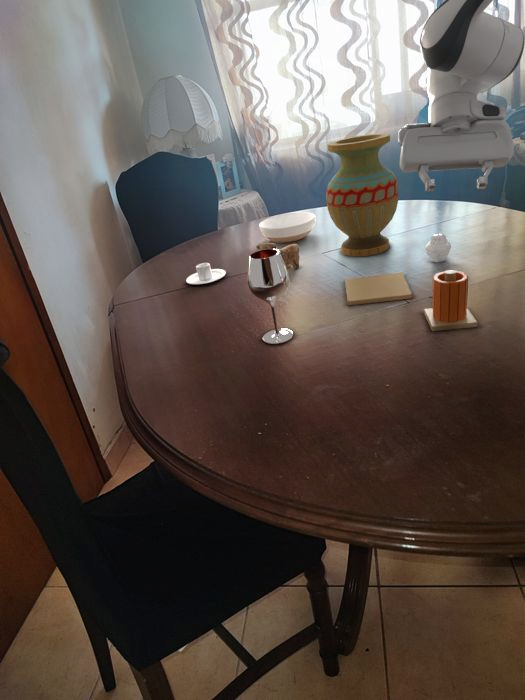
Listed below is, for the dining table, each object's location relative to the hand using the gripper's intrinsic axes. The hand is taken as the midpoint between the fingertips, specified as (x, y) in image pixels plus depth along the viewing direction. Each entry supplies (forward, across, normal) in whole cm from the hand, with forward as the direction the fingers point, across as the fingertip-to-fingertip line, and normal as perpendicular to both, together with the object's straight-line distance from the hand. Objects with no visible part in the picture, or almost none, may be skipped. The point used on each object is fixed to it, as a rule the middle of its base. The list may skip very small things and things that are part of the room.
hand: (456, 188), depth 88 cm
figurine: (+4, -37, +39) cm, 54 cm away
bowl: (-18, -38, +66) cm, 78 cm away
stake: (+24, -1, +6) cm, 25 cm away
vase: (-6, -13, +47) cm, 49 cm away
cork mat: (+14, -13, +22) cm, 29 cm away
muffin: (+3, +4, +33) cm, 33 cm away
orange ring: (+23, -1, +5) cm, 24 cm away
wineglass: (+27, -34, +8) cm, 45 cm away
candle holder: (+4, -60, +42) cm, 73 cm away
